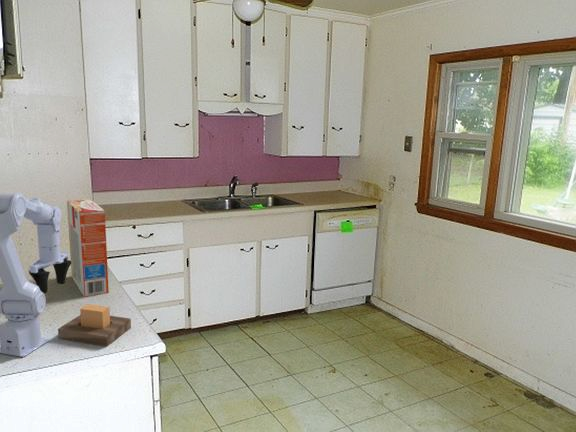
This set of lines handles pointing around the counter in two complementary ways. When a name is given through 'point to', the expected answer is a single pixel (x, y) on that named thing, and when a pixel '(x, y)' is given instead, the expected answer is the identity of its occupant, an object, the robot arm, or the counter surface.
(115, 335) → the keyed socket
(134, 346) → the counter surface
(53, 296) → the counter surface
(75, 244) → the cereal box
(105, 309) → the keyed peg
